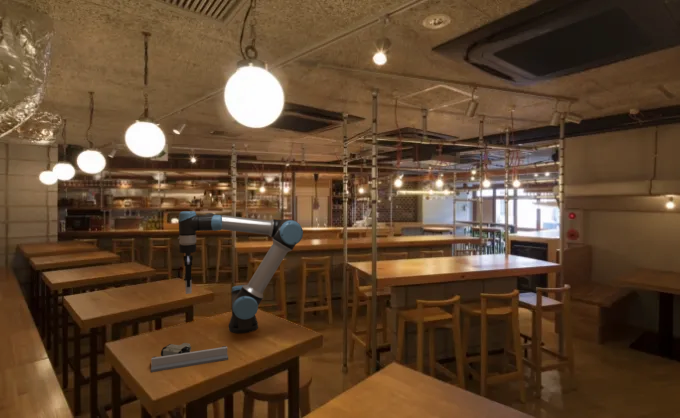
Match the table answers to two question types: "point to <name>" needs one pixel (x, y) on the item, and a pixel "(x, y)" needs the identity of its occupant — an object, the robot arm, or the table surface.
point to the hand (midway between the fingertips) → (188, 293)
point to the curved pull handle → (188, 359)
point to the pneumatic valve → (175, 349)
